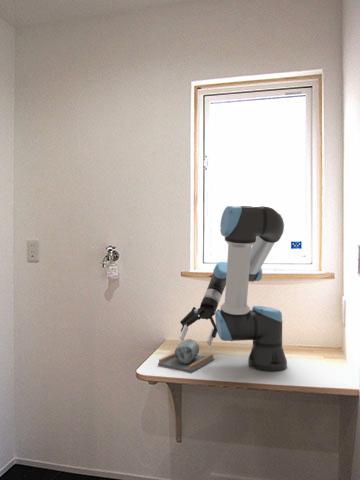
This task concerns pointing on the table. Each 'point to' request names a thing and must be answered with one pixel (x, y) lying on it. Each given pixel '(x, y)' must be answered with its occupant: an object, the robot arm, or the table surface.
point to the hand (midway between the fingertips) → (194, 341)
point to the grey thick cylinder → (186, 351)
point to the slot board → (191, 367)
